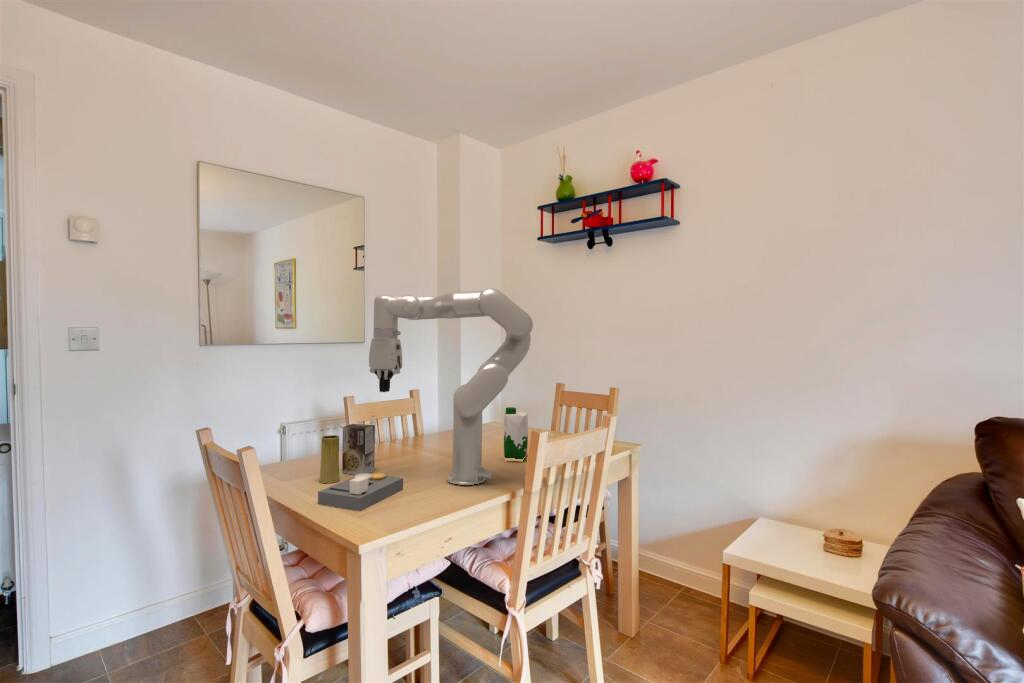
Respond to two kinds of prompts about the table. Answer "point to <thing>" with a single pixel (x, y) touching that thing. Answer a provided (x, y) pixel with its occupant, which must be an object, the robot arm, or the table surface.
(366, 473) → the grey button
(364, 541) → the table surface
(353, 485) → the white block
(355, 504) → the panel
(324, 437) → the vase
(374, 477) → the amber button
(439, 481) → the table surface
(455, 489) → the table surface
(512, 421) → the milk carton
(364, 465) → the coffee box
